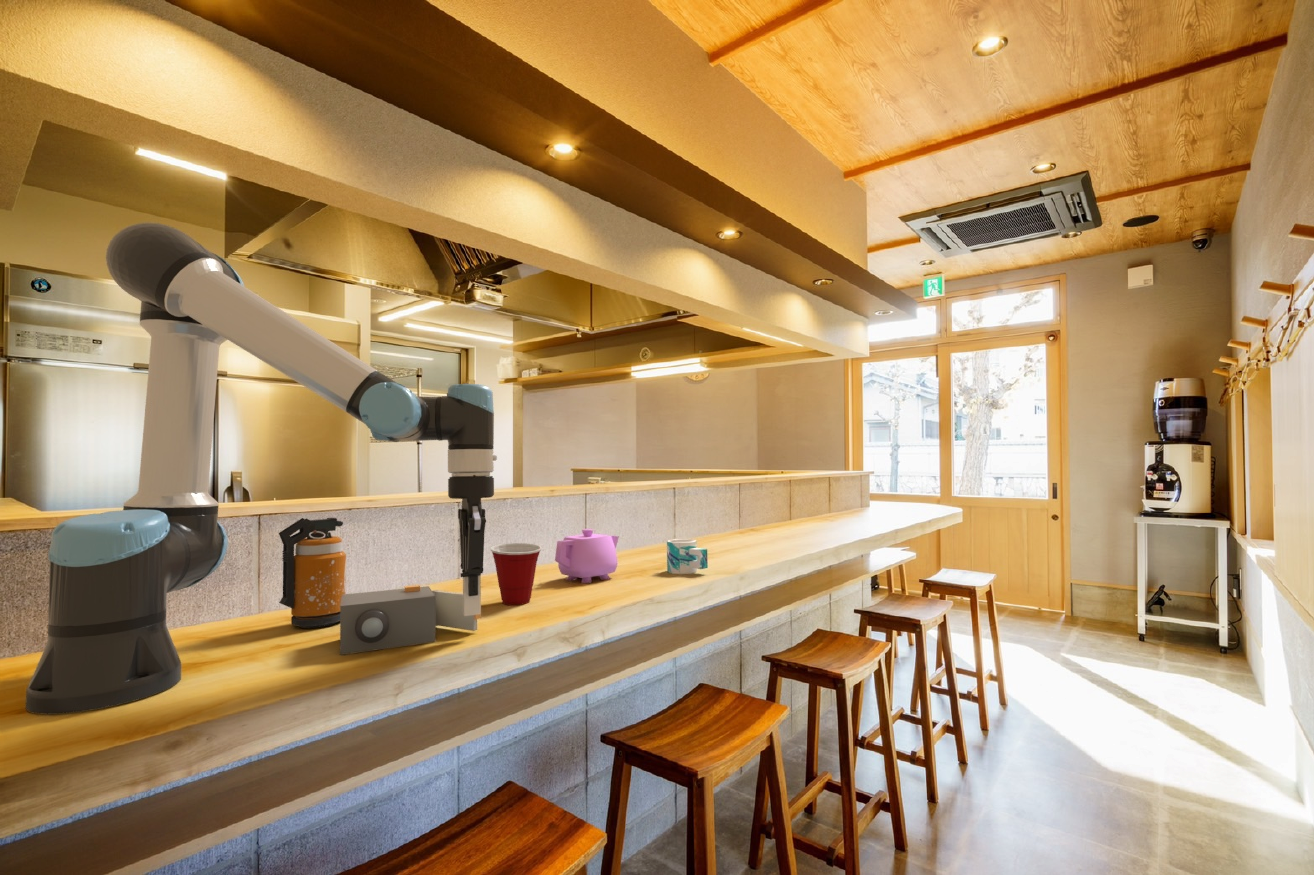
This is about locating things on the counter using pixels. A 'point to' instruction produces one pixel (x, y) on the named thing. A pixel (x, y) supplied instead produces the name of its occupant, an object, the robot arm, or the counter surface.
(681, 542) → the mug
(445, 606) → the side door
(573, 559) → the teapot
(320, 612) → the canister
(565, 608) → the counter surface
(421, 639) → the camera body
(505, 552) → the plastic cup
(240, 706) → the counter surface
